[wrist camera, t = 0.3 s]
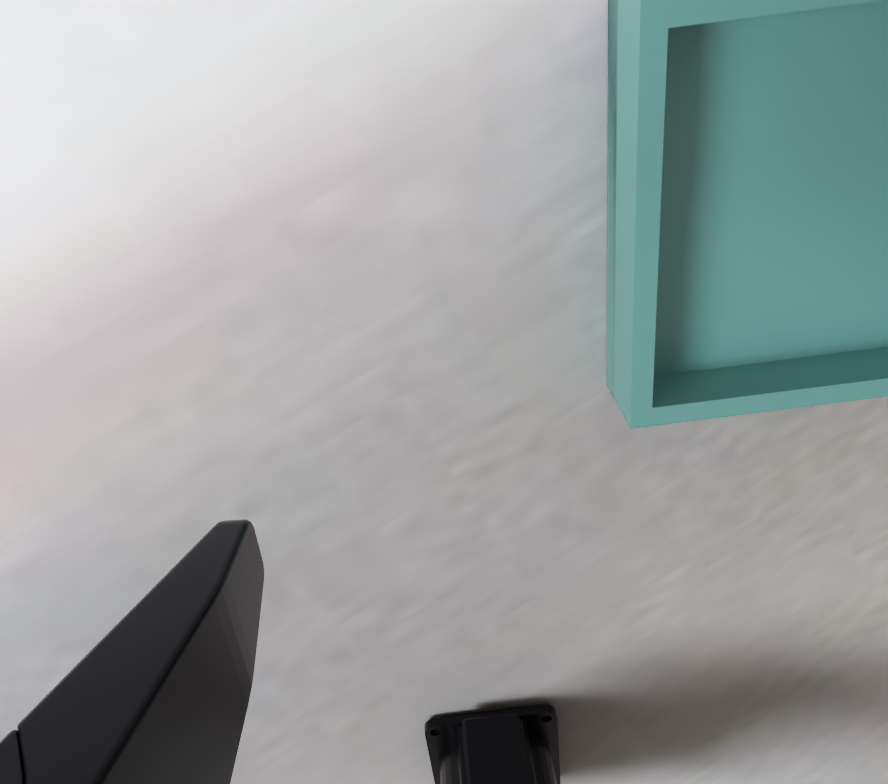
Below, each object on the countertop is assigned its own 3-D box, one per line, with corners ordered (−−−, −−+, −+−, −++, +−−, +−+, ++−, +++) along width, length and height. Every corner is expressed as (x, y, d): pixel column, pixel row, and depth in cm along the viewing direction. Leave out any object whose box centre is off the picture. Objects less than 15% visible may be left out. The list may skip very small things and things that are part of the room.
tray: (943, 342, 25) (1005, 381, 23) (606, 384, 25) (630, 428, 23) (1051, -58, 19) (1154, -68, 17) (608, -1, 19) (640, -1, 17)
